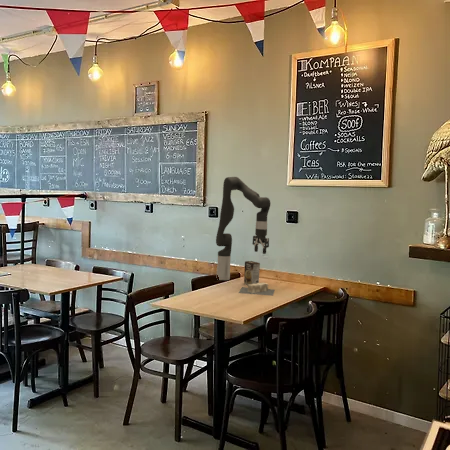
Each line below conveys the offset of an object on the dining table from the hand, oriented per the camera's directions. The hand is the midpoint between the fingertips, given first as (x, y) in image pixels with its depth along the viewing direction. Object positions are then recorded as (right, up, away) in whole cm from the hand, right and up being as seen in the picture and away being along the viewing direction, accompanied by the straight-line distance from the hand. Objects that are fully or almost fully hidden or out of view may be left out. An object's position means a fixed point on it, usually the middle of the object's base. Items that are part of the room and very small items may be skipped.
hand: (260, 252), depth 308 cm
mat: (-2, -25, -2) cm, 25 cm away
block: (+4, -22, +2) cm, 23 cm away
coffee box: (-5, -24, +17) cm, 30 cm away
